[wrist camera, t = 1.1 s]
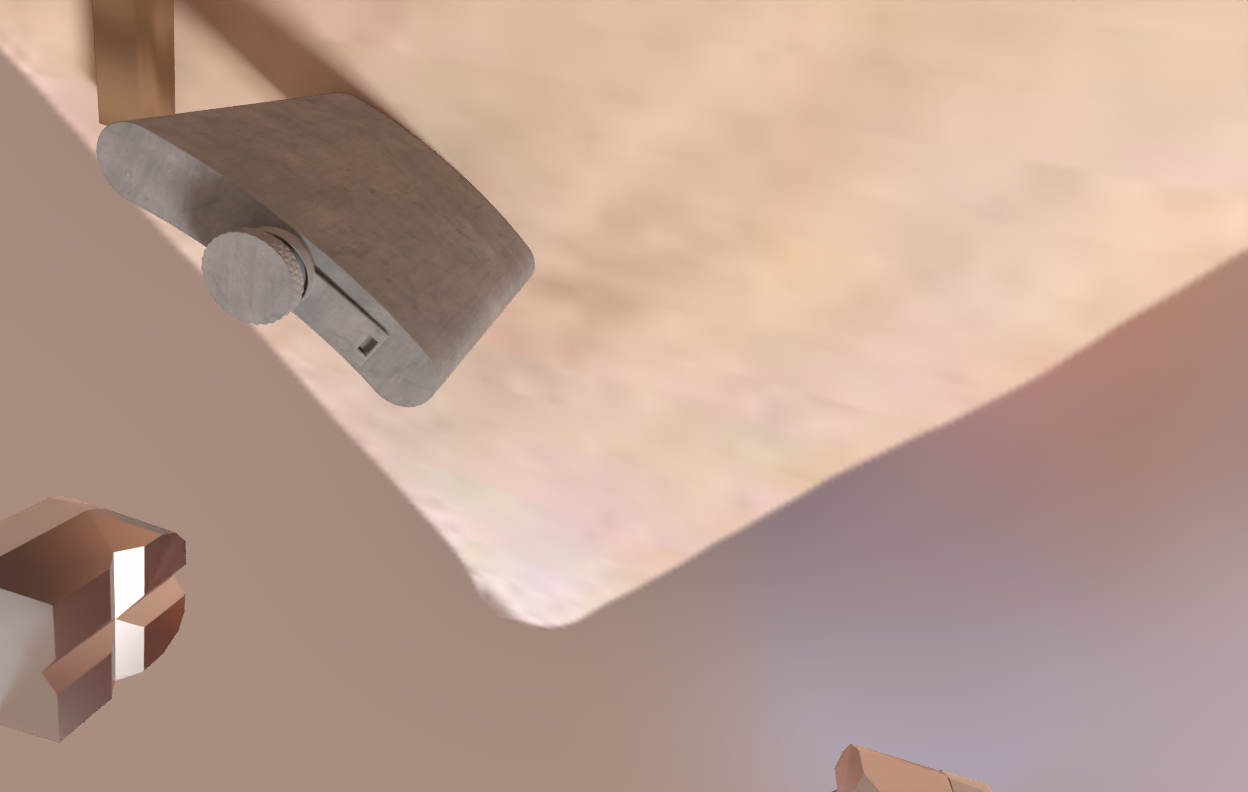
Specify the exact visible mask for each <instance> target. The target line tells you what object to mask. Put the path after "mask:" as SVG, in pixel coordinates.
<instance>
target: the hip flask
mask: <svg viewBox="0 0 1248 792" xmlns="http://www.w3.org/2000/svg"><path fill="white" fill-rule="evenodd" d="M97 158H98V162H99V166H100V169H101V170H102V173H103V175H104V177H105V178H106V180H107V181H108V182H109V184H110V185H111V186H112V187H113V188H114V190H115V191H117V192H118V193H119V194H120V195H121V196H122V197H124V198H126V199H127V200H129V201H130V202H132V203H134V204H136V205H138V206H140V207H141V208H143V209H145V210H147V211H149V212H151V213H152V214H154V215H156V216H157V217H159V218H161V219H163V220H164V221H166V222H168V223H169V224H171V225H173V226H174V227H176V228H178V229H179V230H181V231H182V232H184V233H185V234H187V235H189V236H190V237H192V238H193V239H195V240H196V241H198V242H199V243H201V244H202V245H204V246H205V247H207V248H206V249H205V250H204V256H203V257H202V267H201V268H202V271H203V278H204V280H205V284H206V286H207V288H208V289H209V292H210V294H211V296H212V297H213V298H214V299H215V301H216V303H218V304H219V305H220V306H221V307H222V309H223V310H225V311H227V312H228V313H229V314H230V315H231V316H234V317H236V318H237V319H239V320H241V321H245V322H247V323H253V324H256V325H259V324H264V325H266V324H268V323H274V322H275V321H276V320H280V319H281V318H282V317H283V316H285V315H288V313H289V312H291V311H292V312H293V313H294V314H295V315H297V316H298V317H299V318H300V319H301V320H303V321H304V322H305V323H306V324H307V325H308V326H310V327H311V328H312V329H313V330H314V331H315V332H316V333H317V334H319V335H320V336H321V337H322V338H323V339H324V340H325V341H326V342H327V343H328V344H330V345H331V346H332V347H333V348H334V349H335V350H336V351H337V352H338V353H339V354H340V355H341V356H342V357H343V358H344V359H345V360H346V361H347V362H348V363H349V364H350V365H351V366H352V367H353V368H354V369H355V370H356V371H357V372H358V373H359V374H360V375H361V376H362V377H363V378H364V379H365V380H366V381H367V383H368V384H369V385H370V386H371V387H372V388H373V389H374V390H375V391H376V392H377V393H378V394H379V395H380V396H381V397H382V398H384V399H385V400H387V401H388V402H390V403H392V404H395V405H398V406H403V407H415V406H419V405H422V404H424V403H425V402H427V401H428V400H429V399H430V398H431V397H432V396H433V395H434V394H435V393H436V391H437V390H438V389H439V388H440V386H441V385H442V384H443V383H444V382H445V380H446V379H447V378H448V377H449V376H450V374H451V373H452V372H453V371H454V369H455V368H456V367H457V366H458V365H459V363H460V362H461V361H462V360H463V359H464V357H465V356H466V355H467V354H468V353H469V351H470V350H471V349H472V348H473V346H474V345H475V344H476V343H477V342H478V340H479V339H480V338H481V337H482V336H483V334H484V333H485V332H486V331H487V329H488V328H489V327H490V326H491V325H492V323H493V322H494V321H495V320H496V319H497V317H498V316H499V315H500V314H501V312H502V311H503V310H504V309H505V308H506V306H507V305H508V304H509V303H510V302H511V300H512V299H513V298H514V297H515V295H516V294H517V293H518V292H519V291H520V289H521V288H522V287H523V286H524V285H525V283H526V282H527V281H528V280H529V278H530V277H531V276H532V274H533V271H534V267H535V262H534V257H533V254H532V252H531V250H530V249H529V248H528V246H527V245H526V244H525V242H524V241H523V240H522V239H521V237H520V236H519V235H518V234H517V232H516V231H515V230H514V229H513V228H512V227H511V225H510V224H509V223H508V222H507V221H506V219H505V218H504V217H503V216H502V215H501V214H500V213H499V212H498V211H497V210H496V209H495V207H494V206H493V205H492V204H491V203H490V202H489V201H488V200H487V199H486V198H485V197H484V196H483V195H482V194H481V193H480V192H479V191H478V190H477V189H476V188H475V187H474V186H473V185H472V184H471V183H470V182H468V181H467V180H466V179H465V178H464V177H463V176H462V175H461V174H460V173H459V172H457V171H456V170H455V169H454V168H453V167H452V166H451V165H450V164H448V163H447V162H446V161H445V160H444V159H443V158H441V157H440V156H439V155H438V154H437V153H436V152H434V151H433V150H432V149H431V148H429V147H428V146H427V145H426V144H425V143H423V142H422V141H421V140H419V139H418V138H417V137H415V136H414V135H413V134H411V133H410V132H409V131H407V130H406V129H405V128H403V127H402V126H401V125H399V124H398V123H396V122H395V121H393V120H392V119H391V118H389V117H388V116H386V115H385V114H383V113H381V112H380V111H378V110H377V109H375V108H374V107H372V106H370V105H369V104H367V103H365V102H364V101H362V100H360V99H359V98H357V97H355V96H353V95H351V94H349V93H332V94H324V95H317V96H309V97H301V98H294V99H286V100H279V101H271V102H263V103H256V104H248V105H241V106H233V107H225V108H218V109H210V110H202V111H195V112H187V113H180V114H172V115H164V116H157V117H149V118H142V119H134V120H126V121H119V122H115V123H112V124H110V125H108V126H107V127H106V128H105V129H104V130H103V131H102V132H101V134H100V136H99V138H98V142H97Z"/></svg>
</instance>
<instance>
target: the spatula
mask: <svg viewBox="0 0 1248 792" xmlns="http://www.w3.org/2000/svg"><path fill="white" fill-rule="evenodd" d="M92 9H93V26H94V43H95V59H96V76H97V93H98V109H99V123H100V124H103V125H107V126H108V125H110V124H112V123H115V122H119V121H126V120H134V119H142V118H149V117H157V116H164V115H172V114H175V71H174V0H92Z"/></svg>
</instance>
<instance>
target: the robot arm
mask: <svg viewBox="0 0 1248 792" xmlns="http://www.w3.org/2000/svg"><path fill="white" fill-rule="evenodd" d="M185 565H186V541H185V540H184V539H183V538H182V537H180V536H179V535H178V534H177V533H175V532H172V531H169V530H166V529H163V528H160V527H157V526H154V525H151V524H148V523H146V522H143V521H140V520H137V519H134V518H131V517H128V516H125V515H122V514H119V513H116V512H113V511H110V510H107V509H104V508H103V509H101V508H98V507H96V506H93V505H90V504H87V503H84V502H81V501H78V500H75V499H72V498H69V497H50V498H47V499H46V500H43V501H41V502H39V503H37V504H35V505H33V506H31V507H29V508H27V509H25V510H23V511H20V512H19V513H16V514H14V515H12V516H10V517H8V518H6V519H4V520H2V521H0V725H2V726H5V727H9V728H12V729H15V730H19V731H22V732H25V733H29V734H32V735H35V736H39V737H42V738H45V739H48V740H52V741H55V742H58V743H60V742H61V741H62V740H63V739H65V738H66V737H67V736H68V735H69V734H70V733H72V732H73V731H74V730H75V729H76V728H77V727H79V726H80V725H81V724H82V723H84V722H85V721H86V720H87V719H88V718H89V717H90V716H92V715H93V714H94V713H95V712H96V711H98V710H99V709H100V708H101V707H102V706H104V705H105V704H106V703H107V702H108V701H109V700H111V698H112V695H113V690H114V685H115V681H116V680H119V679H122V678H125V677H128V676H131V675H134V674H137V673H140V672H143V671H144V670H145V669H147V668H148V667H149V666H150V665H151V664H152V663H153V662H155V661H156V660H157V659H158V658H159V657H160V656H161V655H162V654H163V653H164V652H165V650H166V649H167V647H168V646H169V644H170V643H171V641H172V640H173V638H174V637H175V635H176V634H177V632H178V630H179V628H180V624H181V621H182V618H183V615H184V611H185V593H184V592H183V590H182V588H181V587H180V585H179V583H178V581H177V580H176V578H175V576H174V575H175V574H176V573H177V572H178V571H179V570H180V569H182V568H183V567H184V566H185ZM835 775H836V781H837V790H835V791H833V792H994V791H993V790H992V789H991V788H990V787H989V786H988V785H987V784H986V783H984V782H980V781H977V780H974V779H970V778H967V777H963V776H960V775H956V774H953V773H949V772H946V771H943V770H939V771H937V770H935V769H932V768H929V767H926V766H922V765H919V764H916V763H913V762H909V761H906V760H903V759H899V758H896V757H893V756H890V755H886V754H883V753H880V752H877V751H873V750H870V749H867V748H863V747H860V746H857V745H854V744H850V745H849V746H848V747H847V748H846V749H845V750H844V751H843V752H842V754H841V756H840V758H839V760H838V762H837V765H836V767H835Z"/></svg>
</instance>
